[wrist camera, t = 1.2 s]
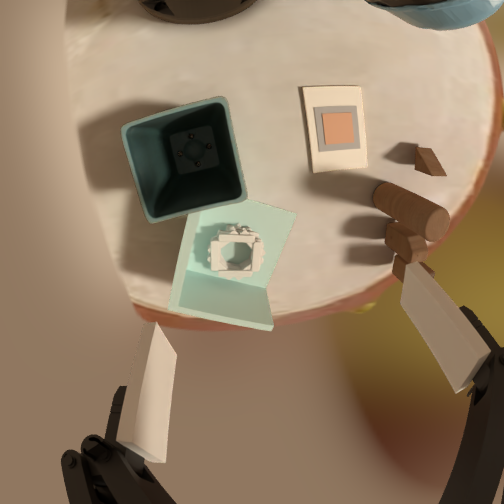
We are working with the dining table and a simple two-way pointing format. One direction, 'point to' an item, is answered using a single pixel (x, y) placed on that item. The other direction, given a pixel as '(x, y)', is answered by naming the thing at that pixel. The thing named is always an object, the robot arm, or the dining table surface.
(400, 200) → the wooden block set
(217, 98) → the flower pot
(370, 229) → the dining table surface
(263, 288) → the right angle wall
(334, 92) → the card
